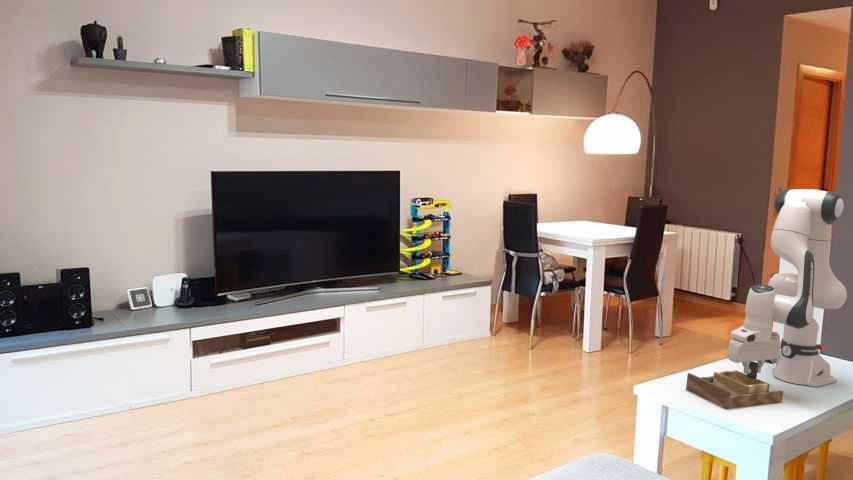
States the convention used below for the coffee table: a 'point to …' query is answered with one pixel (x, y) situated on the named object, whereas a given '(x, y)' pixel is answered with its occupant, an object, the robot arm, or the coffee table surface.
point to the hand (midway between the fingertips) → (752, 372)
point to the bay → (723, 398)
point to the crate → (741, 381)
